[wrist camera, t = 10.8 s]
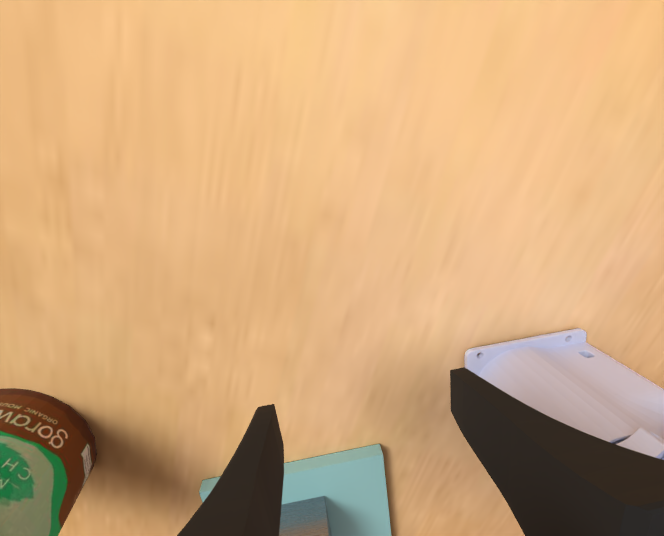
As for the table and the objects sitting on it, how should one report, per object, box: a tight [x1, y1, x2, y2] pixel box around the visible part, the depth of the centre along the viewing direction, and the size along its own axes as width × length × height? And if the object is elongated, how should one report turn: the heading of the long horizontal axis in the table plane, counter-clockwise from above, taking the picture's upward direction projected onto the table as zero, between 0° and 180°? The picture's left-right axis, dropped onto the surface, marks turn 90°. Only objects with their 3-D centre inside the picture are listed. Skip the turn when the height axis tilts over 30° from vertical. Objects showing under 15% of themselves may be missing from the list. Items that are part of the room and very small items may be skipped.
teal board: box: [199, 444, 391, 536], centre depth 27 cm, size 14×13×1 cm
